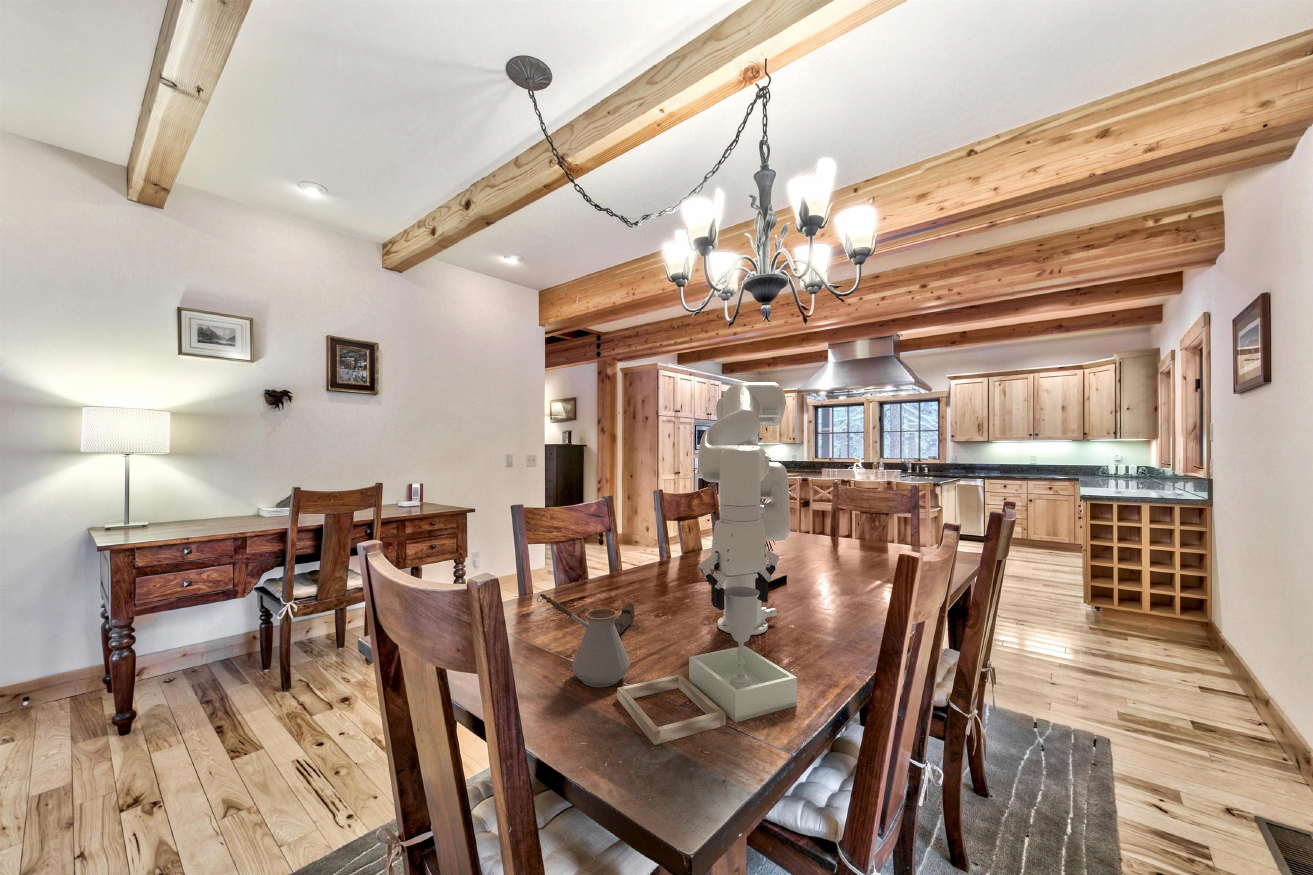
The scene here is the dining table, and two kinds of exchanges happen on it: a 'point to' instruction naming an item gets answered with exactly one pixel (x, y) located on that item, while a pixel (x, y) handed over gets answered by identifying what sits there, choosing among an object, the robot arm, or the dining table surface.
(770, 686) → the sage bin
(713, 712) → the ash frame
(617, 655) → the coffee pot
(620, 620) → the hand tool
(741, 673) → the chalice
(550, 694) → the dining table surface
